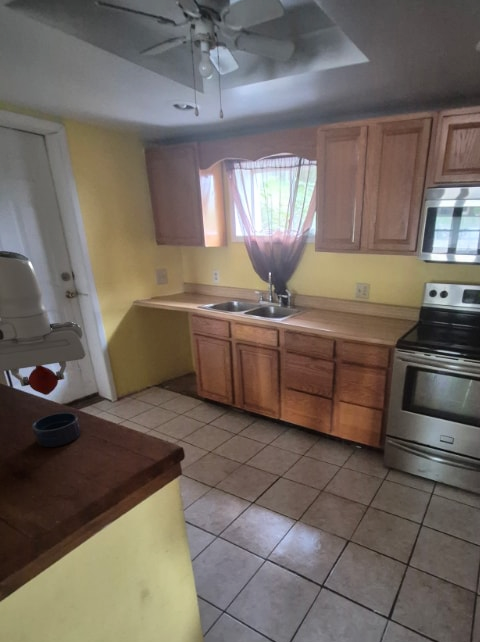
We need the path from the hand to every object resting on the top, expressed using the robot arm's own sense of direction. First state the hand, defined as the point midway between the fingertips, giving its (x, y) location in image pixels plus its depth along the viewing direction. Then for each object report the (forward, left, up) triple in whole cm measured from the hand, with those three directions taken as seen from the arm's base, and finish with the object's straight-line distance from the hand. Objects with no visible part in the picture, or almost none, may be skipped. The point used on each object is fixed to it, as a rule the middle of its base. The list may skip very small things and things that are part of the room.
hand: (43, 382), depth 90 cm
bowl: (0, 0, -16) cm, 16 cm away
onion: (0, 0, -4) cm, 4 cm away
